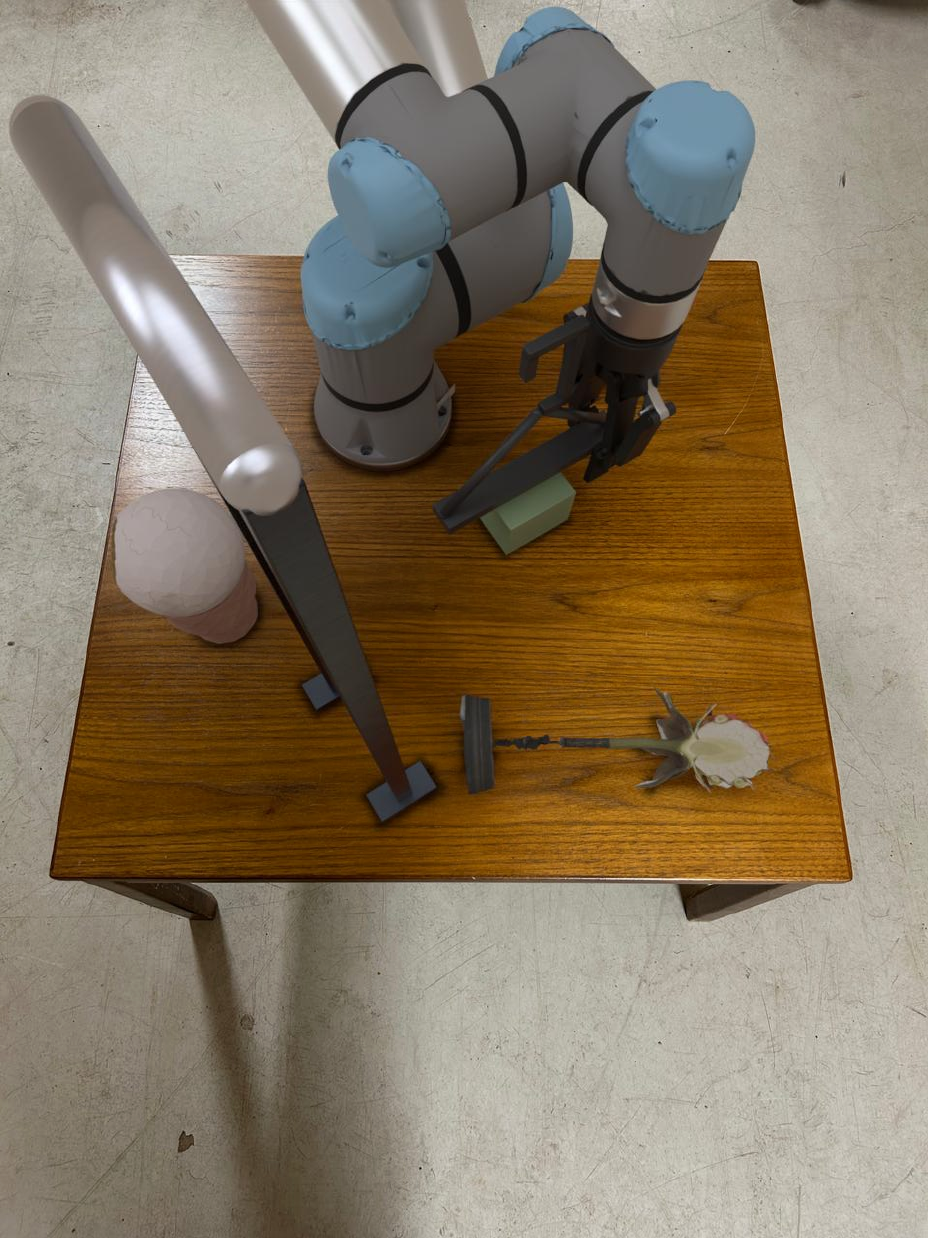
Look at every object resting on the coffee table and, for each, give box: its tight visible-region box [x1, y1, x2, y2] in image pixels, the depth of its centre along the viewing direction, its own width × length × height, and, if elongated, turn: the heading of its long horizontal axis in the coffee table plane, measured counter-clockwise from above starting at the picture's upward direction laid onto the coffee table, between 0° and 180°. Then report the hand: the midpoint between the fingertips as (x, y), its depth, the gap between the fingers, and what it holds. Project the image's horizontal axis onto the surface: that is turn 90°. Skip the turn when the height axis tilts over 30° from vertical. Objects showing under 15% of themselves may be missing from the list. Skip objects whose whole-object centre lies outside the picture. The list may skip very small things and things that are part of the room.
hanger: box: [432, 314, 607, 536], centre depth 66 cm, size 20×3×20 cm, turn 123°
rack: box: [8, 94, 438, 824], centre depth 47 cm, size 16×6×60 cm, turn 33°
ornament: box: [459, 685, 775, 796], centre depth 71 cm, size 28×10×9 cm, turn 91°
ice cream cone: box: [110, 488, 259, 645], centre depth 70 cm, size 11×11×20 cm
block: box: [479, 472, 577, 556], centre depth 81 cm, size 6×8×6 cm
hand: (585, 461), depth 82 cm, fingers closed on hanger, 3 cm apart
